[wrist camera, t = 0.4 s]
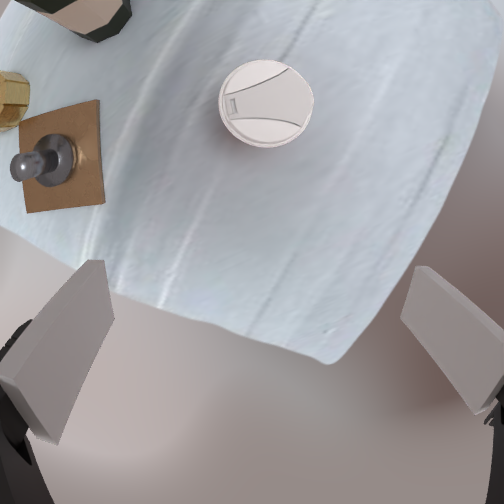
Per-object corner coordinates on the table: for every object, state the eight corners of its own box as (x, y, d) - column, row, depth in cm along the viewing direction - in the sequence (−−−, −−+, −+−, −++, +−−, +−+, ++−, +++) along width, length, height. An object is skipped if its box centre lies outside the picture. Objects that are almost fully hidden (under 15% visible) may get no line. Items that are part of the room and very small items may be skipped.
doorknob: (22, 122, 29) (-19, 124, 20) (99, 100, 30) (63, 92, 21) (30, 211, 34) (-7, 231, 26) (105, 202, 35) (73, 222, 27)
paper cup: (228, 150, 35) (228, 156, 22) (216, 92, 32) (209, 64, 19) (290, 139, 35) (326, 140, 22) (278, 82, 32) (308, 51, 19)
